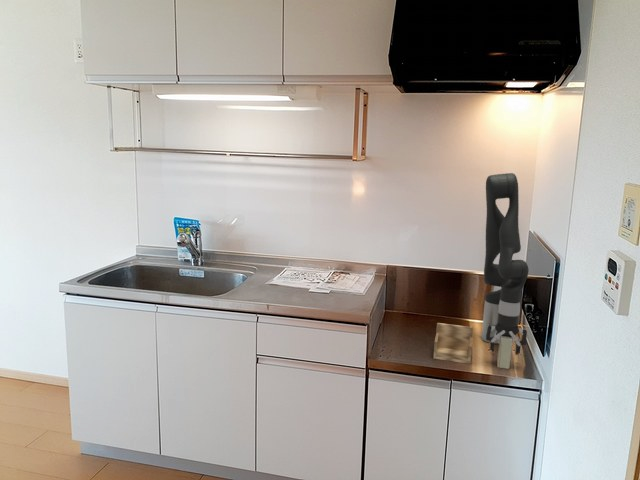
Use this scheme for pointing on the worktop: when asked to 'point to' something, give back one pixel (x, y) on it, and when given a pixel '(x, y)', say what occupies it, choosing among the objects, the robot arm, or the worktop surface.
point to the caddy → (453, 343)
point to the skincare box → (504, 352)
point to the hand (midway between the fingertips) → (504, 352)
